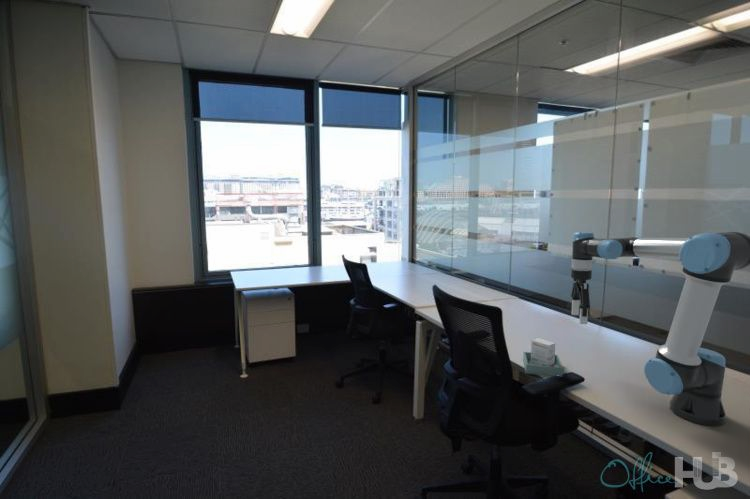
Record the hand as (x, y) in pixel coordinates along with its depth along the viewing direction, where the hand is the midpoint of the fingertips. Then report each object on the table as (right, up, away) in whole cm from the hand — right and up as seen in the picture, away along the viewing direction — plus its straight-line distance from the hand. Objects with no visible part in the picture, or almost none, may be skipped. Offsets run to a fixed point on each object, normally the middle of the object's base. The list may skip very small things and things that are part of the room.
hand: (579, 319), depth 173 cm
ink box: (-14, -22, +5) cm, 26 cm away
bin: (-13, -22, +6) cm, 27 cm away
